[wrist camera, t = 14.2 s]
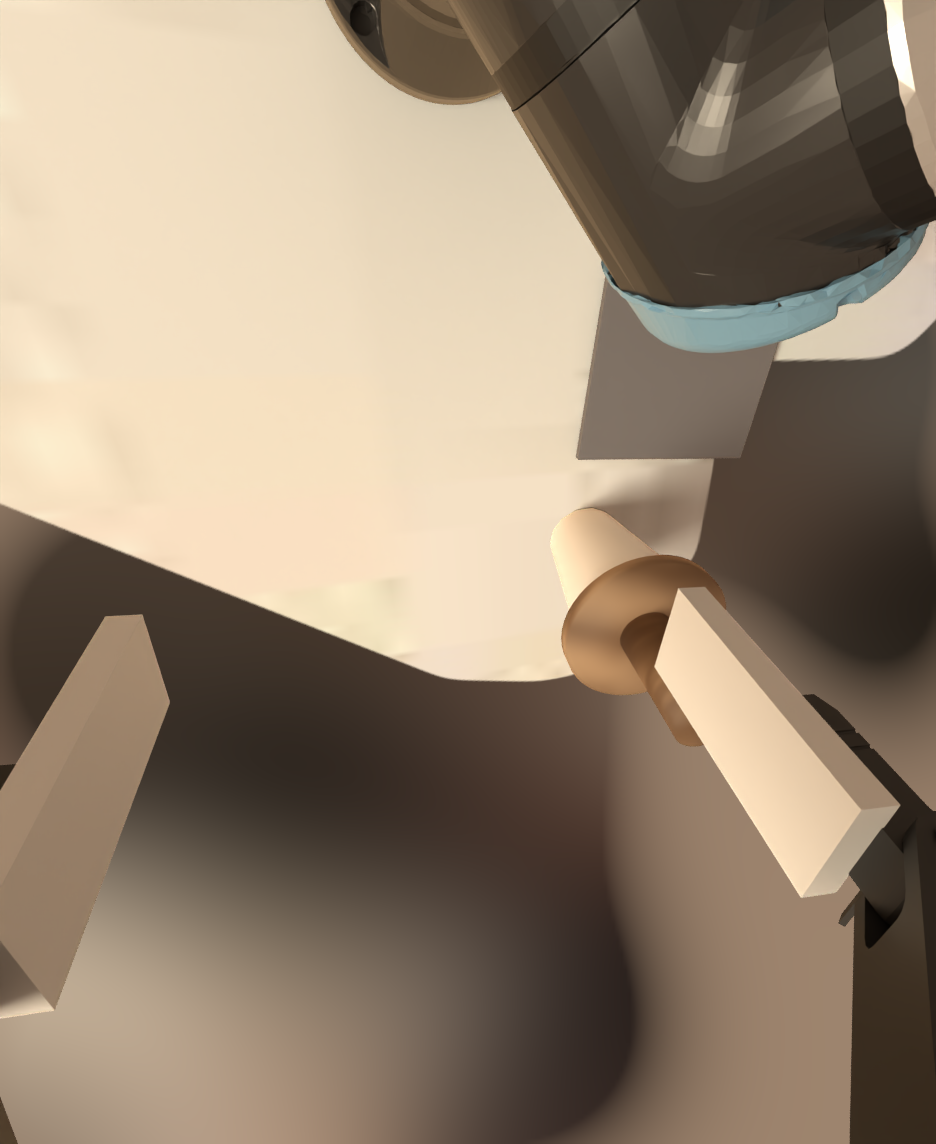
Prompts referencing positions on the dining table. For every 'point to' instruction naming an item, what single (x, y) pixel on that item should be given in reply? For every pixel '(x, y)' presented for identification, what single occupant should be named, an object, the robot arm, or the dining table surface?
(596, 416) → the mat
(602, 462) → the dining table surface
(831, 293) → the robot arm
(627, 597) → the lid
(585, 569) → the foam cup
